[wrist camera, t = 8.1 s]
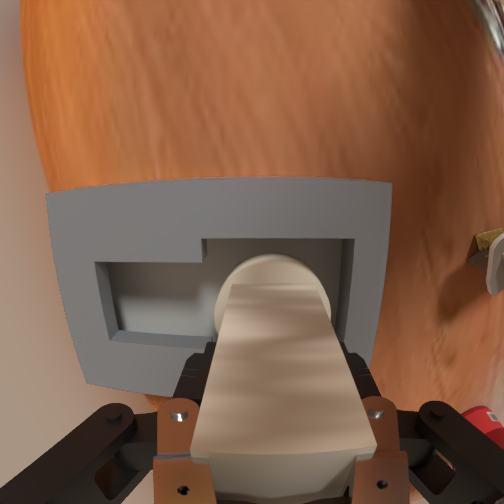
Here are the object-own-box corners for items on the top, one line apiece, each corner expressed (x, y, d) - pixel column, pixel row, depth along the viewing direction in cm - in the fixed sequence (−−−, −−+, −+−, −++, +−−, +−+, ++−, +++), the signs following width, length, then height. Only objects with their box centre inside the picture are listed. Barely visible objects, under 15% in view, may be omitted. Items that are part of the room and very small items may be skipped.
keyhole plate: (361, 179, 20) (392, 183, 15) (345, 354, 24) (361, 397, 18) (89, 186, 21) (46, 193, 16) (113, 347, 24) (86, 383, 19)
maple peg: (327, 252, 16) (430, 406, 5) (319, 346, 18) (364, 522, 6) (217, 252, 17) (134, 412, 5) (221, 346, 18) (182, 525, 7)
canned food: (446, 417, 26) (483, 483, 15) (496, 395, 25) (537, 449, 15) (433, 453, 28) (460, 513, 17) (480, 433, 27) (511, 485, 17)
